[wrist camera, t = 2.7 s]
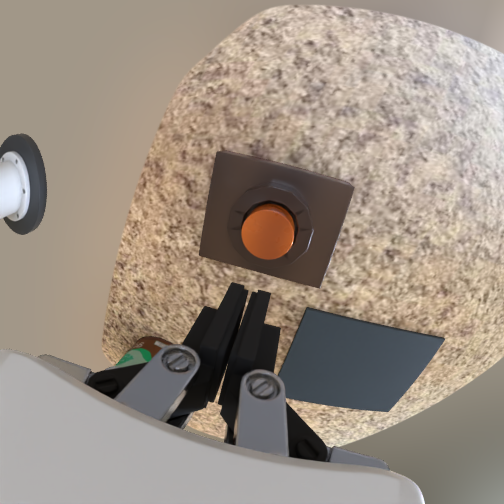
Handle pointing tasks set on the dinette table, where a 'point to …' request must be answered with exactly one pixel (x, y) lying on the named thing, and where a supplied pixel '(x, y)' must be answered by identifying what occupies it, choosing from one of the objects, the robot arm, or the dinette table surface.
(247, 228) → the button
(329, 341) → the mat
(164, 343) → the food container
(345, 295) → the dinette table surface
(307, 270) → the button box
